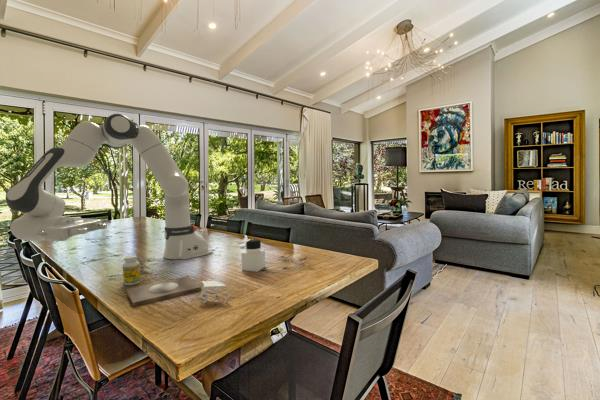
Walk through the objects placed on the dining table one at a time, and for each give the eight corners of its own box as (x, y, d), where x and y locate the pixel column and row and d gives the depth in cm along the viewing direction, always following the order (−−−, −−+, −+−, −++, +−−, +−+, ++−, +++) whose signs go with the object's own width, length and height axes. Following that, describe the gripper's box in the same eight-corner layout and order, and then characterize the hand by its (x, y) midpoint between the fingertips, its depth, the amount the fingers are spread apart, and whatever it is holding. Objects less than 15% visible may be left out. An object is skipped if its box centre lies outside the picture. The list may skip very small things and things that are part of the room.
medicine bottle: (265, 266, 127) (264, 238, 126) (257, 272, 120) (256, 242, 119) (250, 265, 129) (249, 237, 128) (241, 270, 122) (240, 241, 121)
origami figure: (189, 304, 91) (188, 288, 91) (204, 293, 99) (203, 278, 99) (226, 307, 88) (225, 291, 88) (238, 296, 97) (238, 281, 96)
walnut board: (188, 279, 113) (188, 275, 113) (201, 290, 101) (200, 286, 101) (126, 292, 101) (126, 288, 101) (133, 306, 90) (133, 302, 89)
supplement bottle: (142, 279, 113) (141, 254, 112) (138, 284, 108) (136, 258, 107) (126, 281, 112) (124, 255, 111) (121, 286, 107) (119, 259, 106)
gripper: (31, 224, 99) (71, 224, 98) (80, 216, 120) (114, 216, 119) (33, 243, 100) (73, 244, 99) (81, 232, 120) (115, 232, 119)
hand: (96, 228), depth 109 cm, fingers open, 8 cm apart
